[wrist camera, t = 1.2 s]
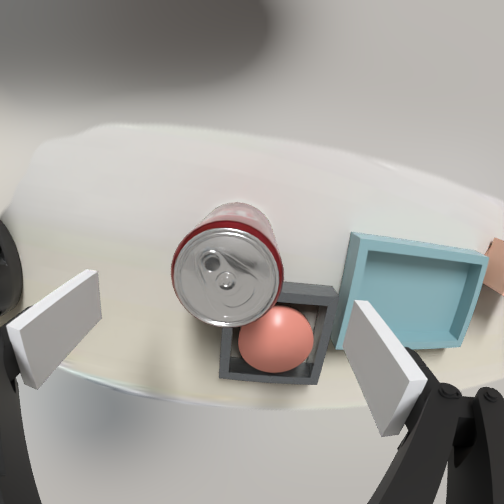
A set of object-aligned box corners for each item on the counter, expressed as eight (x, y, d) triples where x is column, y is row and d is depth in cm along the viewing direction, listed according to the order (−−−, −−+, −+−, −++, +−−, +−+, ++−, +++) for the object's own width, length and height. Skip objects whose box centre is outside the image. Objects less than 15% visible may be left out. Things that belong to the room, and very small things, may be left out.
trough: (329, 335, 33) (335, 349, 30) (351, 231, 30) (360, 238, 27) (449, 336, 33) (460, 346, 30) (475, 250, 30) (489, 257, 27)
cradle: (221, 362, 34) (218, 378, 31) (228, 275, 31) (225, 286, 28) (312, 369, 34) (316, 384, 31) (332, 286, 31) (339, 297, 28)
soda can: (287, 249, 30) (305, 297, 19) (226, 285, 31) (211, 348, 20) (248, 187, 29) (243, 198, 17) (186, 227, 30) (146, 262, 18)
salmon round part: (236, 357, 33) (235, 369, 30) (242, 296, 31) (242, 306, 28) (302, 361, 33) (305, 374, 31) (315, 302, 31) (320, 313, 29)
